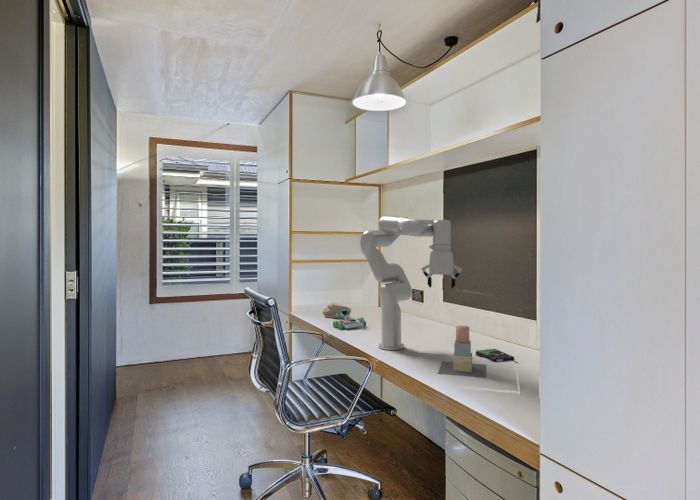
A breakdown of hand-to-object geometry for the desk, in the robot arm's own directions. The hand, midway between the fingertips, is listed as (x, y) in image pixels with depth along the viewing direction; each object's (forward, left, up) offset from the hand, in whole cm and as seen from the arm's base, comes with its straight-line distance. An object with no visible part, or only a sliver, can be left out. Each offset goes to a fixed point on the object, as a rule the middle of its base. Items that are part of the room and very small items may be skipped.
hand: (441, 287), depth 191 cm
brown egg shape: (+13, +10, -20) cm, 26 cm away
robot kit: (-60, -65, -33) cm, 94 cm away
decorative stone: (-84, -79, -32) cm, 120 cm away
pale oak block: (+13, +10, -31) cm, 35 cm away
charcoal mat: (+13, +10, -32) cm, 36 cm away
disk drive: (-10, +22, -33) cm, 41 cm away
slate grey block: (+13, +10, -25) cm, 30 cm away
